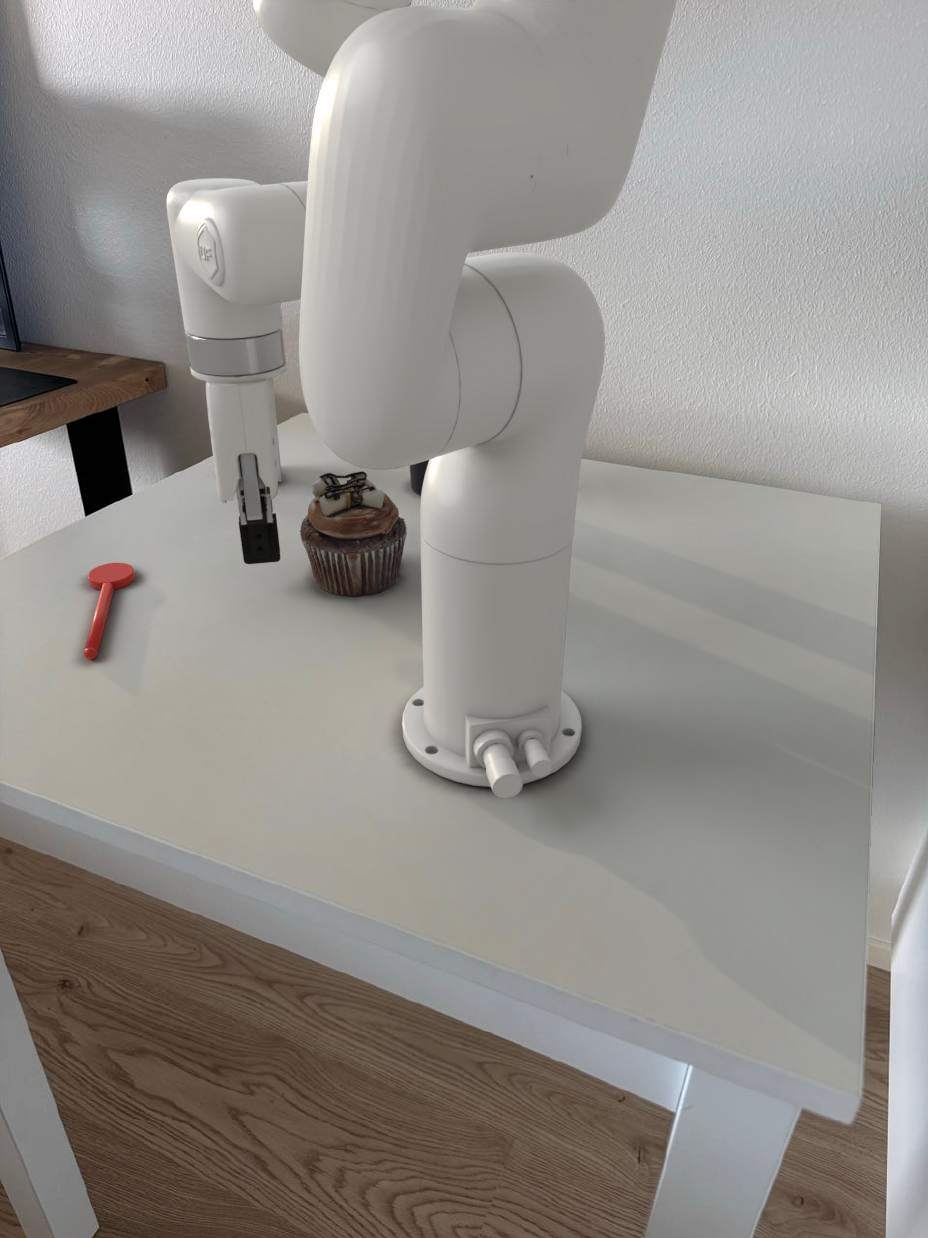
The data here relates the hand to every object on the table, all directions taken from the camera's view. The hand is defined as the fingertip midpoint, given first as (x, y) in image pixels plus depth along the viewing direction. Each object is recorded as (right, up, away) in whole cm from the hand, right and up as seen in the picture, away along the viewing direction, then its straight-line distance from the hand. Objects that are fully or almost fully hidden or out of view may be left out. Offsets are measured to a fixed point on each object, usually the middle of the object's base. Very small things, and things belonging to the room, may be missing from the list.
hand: (262, 558), depth 81 cm
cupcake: (+8, -2, +3) cm, 9 cm away
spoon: (-13, -4, -2) cm, 14 cm away
